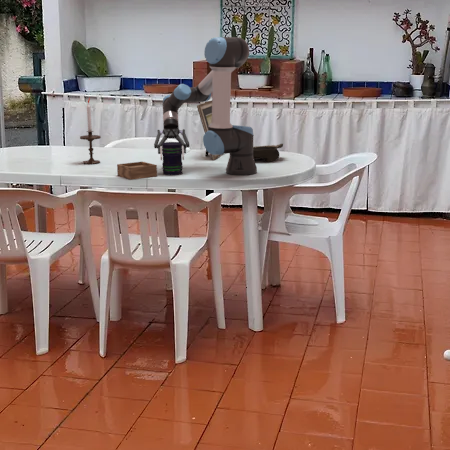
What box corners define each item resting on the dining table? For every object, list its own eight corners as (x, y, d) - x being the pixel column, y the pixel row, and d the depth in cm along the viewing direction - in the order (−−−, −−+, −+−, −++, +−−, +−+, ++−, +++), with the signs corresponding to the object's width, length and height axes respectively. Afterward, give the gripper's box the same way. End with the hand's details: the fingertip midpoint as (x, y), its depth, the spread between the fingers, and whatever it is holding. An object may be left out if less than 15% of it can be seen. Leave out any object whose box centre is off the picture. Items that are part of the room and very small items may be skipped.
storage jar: (159, 174, 363) (158, 144, 360) (166, 171, 373) (165, 141, 369) (179, 175, 361) (178, 144, 357) (185, 172, 370) (184, 142, 367)
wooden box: (157, 176, 360) (156, 165, 358) (131, 179, 352) (130, 168, 351) (142, 172, 371) (142, 161, 369) (117, 175, 363) (117, 164, 362)
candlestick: (102, 161, 408) (98, 96, 400) (101, 164, 397) (98, 97, 389) (81, 161, 406) (78, 96, 398) (81, 165, 396) (77, 98, 388)
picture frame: (214, 160, 406) (214, 105, 399) (197, 160, 408) (195, 104, 400) (226, 152, 437) (226, 100, 430) (210, 151, 439) (209, 100, 432)
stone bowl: (286, 162, 395) (285, 145, 393) (239, 166, 396) (238, 149, 393) (282, 155, 419) (281, 138, 417) (238, 159, 419) (237, 142, 417)
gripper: (193, 126, 378) (195, 162, 366) (148, 127, 376) (149, 163, 364) (193, 117, 371) (195, 153, 360) (148, 118, 369) (148, 154, 358)
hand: (172, 158), depth 362 cm, fingers closed on storage jar, 10 cm apart
